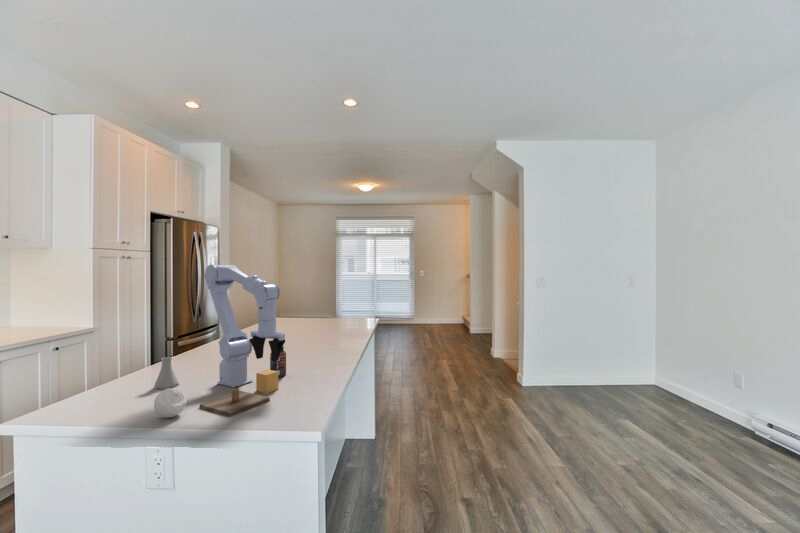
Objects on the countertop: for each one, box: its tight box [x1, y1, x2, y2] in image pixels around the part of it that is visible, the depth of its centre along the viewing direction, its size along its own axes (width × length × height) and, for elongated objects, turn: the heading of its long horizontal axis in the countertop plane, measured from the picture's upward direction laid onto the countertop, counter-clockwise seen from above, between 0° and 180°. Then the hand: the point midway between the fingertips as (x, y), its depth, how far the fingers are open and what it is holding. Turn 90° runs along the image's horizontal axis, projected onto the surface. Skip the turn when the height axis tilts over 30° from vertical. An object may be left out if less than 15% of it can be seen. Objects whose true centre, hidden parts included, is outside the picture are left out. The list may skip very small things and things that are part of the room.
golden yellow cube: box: [255, 369, 279, 394], centre depth 127 cm, size 5×5×6 cm
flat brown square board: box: [199, 387, 271, 417], centre depth 114 cm, size 14×14×4 cm
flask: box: [153, 356, 180, 390], centre depth 132 cm, size 7×7×10 cm
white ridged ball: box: [153, 387, 188, 419], centre depth 105 cm, size 8×8×8 cm
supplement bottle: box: [269, 345, 287, 378], centre depth 144 cm, size 6×6×11 cm
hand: (267, 359), depth 127 cm, fingers open, 7 cm apart
